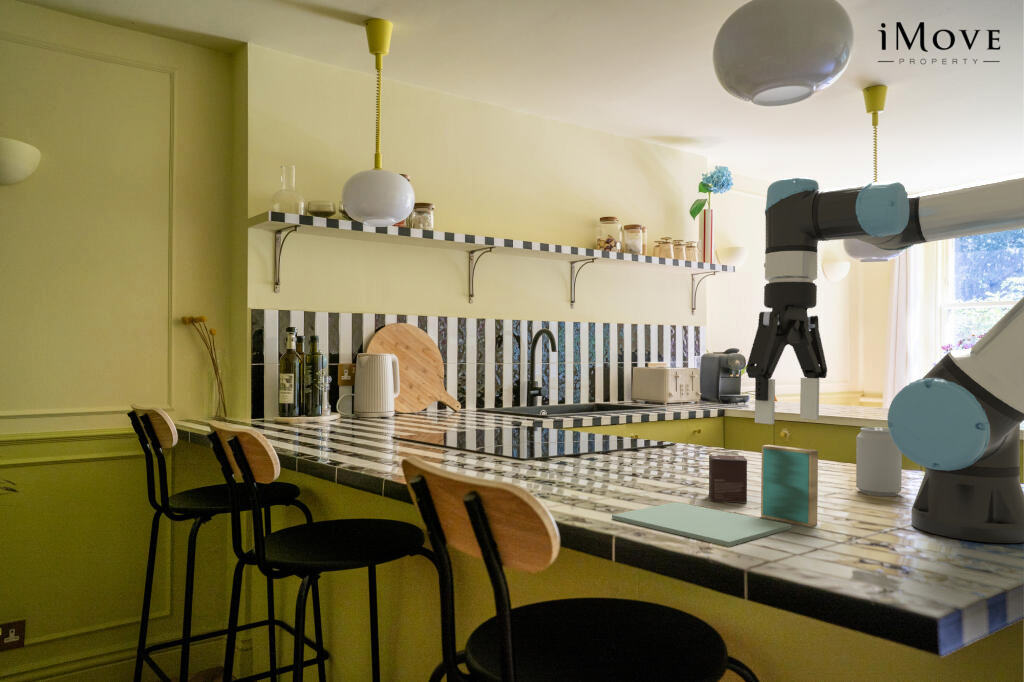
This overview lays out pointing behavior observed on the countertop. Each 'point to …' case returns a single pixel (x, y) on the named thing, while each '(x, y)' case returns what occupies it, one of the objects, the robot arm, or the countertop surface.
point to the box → (728, 478)
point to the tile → (789, 484)
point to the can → (878, 463)
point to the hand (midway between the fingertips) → (787, 421)
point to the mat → (702, 523)
